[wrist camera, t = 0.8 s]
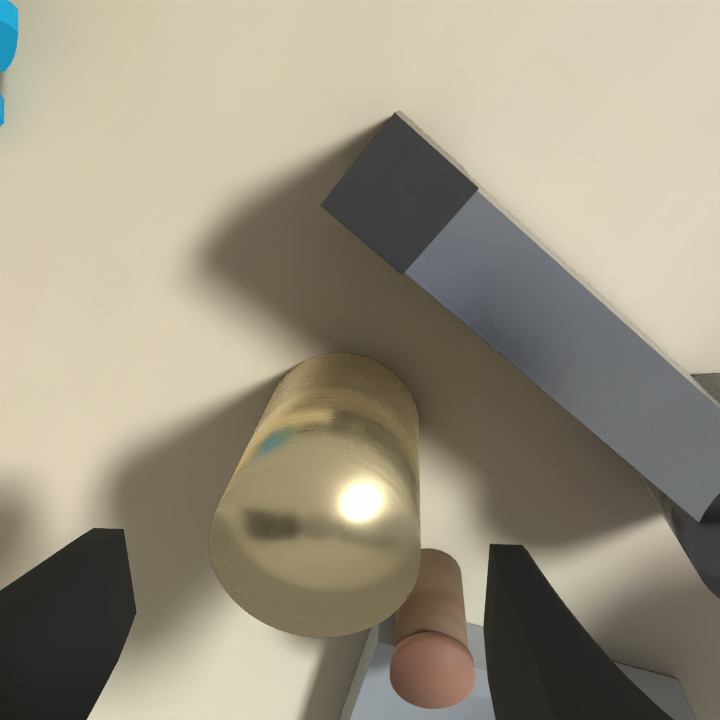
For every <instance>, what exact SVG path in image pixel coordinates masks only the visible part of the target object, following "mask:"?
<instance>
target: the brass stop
mask: <svg viewBox="0 0 720 720" xmlns="http://www.w3.org/2000/svg"><path fill="white" fill-rule="evenodd" d="M209 551H210V557H211V562H212V565H213V568H214V571H215V573H216V575H217V577H218V579H219V581H220V583H221V584H222V586H223V587H224V589H225V590H226V592H227V593H228V594H229V595H230V596H231V598H232V599H233V600H234V601H235V602H236V603H237V604H238V605H239V606H240V607H241V608H243V609H244V610H245V611H246V612H248V613H249V614H250V615H252V616H253V617H254V618H256V619H258V620H260V621H261V622H263V623H265V624H267V625H269V626H271V627H274V628H276V629H278V630H282V631H285V632H288V633H291V634H296V635H301V636H307V637H339V636H346V635H350V634H355V633H358V632H361V631H364V630H367V629H369V628H371V627H373V626H375V625H377V624H379V623H381V622H382V621H384V620H385V619H387V618H388V617H390V616H391V615H392V614H393V613H394V612H395V611H397V610H398V609H399V607H400V606H401V605H402V604H403V603H404V602H405V601H406V599H407V598H408V596H409V594H410V593H411V591H412V589H413V587H414V585H415V583H416V580H417V577H418V573H419V569H420V560H421V542H420V470H419V417H418V412H417V408H416V405H415V402H414V399H413V397H412V395H411V393H410V391H409V390H408V388H407V387H406V385H405V384H404V383H403V382H402V381H401V379H400V378H399V377H398V376H397V375H396V374H394V373H393V372H392V371H391V370H390V369H388V368H387V367H385V366H384V365H382V364H380V363H378V362H376V361H374V360H372V359H369V358H366V357H363V356H359V355H355V354H346V353H332V354H325V355H320V356H317V357H314V358H311V359H309V360H306V361H304V362H302V363H301V364H299V365H297V366H296V367H294V368H293V369H292V370H291V371H289V372H288V373H287V374H286V375H285V376H284V378H283V379H282V380H281V381H280V383H279V384H278V385H277V387H276V389H275V391H274V393H273V395H272V397H271V399H270V401H269V403H268V405H267V407H266V409H265V411H264V413H263V415H262V417H261V419H260V421H259V423H258V425H257V427H256V429H255V431H254V433H253V435H252V438H251V440H250V442H249V444H248V446H247V448H246V450H245V452H244V454H243V456H242V458H241V460H240V462H239V464H238V466H237V468H236V470H235V472H234V474H233V476H232V478H231V480H230V482H229V484H228V486H227V488H226V490H225V492H224V494H223V497H222V499H221V501H220V503H219V505H218V507H217V509H216V511H215V513H214V515H213V519H212V522H211V525H210V532H209Z"/></svg>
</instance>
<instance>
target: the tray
mask: <svg viewBox="0 0 720 720" xmlns="http://www.w3.org/2000/svg"><path fill="white" fill-rule="evenodd" d="M395 619H396V611H395V612H394V613H393V614H392V615H391V616H390V617H388V618H387V619H385V620H384V621H382V622H381V623H379V624H377V625H375V626H373V627H371V629H370V632H369V634H368V637H367V640H366V643H365V646H364V649H363V652H362V655H361V658H360V661H359V663H358V666H357V669H356V672H355V675H354V678H353V681H352V684H351V687H350V689H349V692H348V695H347V698H346V701H345V704H344V707H343V710H342V713H341V716H340V718H339V720H496V719H495V714H494V709H493V704H492V699H491V694H490V689H489V684H488V677H487V666H486V655H485V643H484V631H483V627H480V626H477V625H473V624H469V623H466V628H467V638H468V648H469V651H470V653H471V655H472V657H473V661H474V669H475V684H474V687H473V689H472V691H471V692H470V694H469V695H468V696H467V697H466V698H465V699H464V700H463V701H461V702H459V703H458V704H456V705H453V706H451V707H447V708H442V709H426V708H421V707H417V706H414V705H412V704H410V703H408V702H406V701H405V700H403V699H402V698H401V697H400V696H399V695H398V694H397V693H396V692H395V690H394V689H393V687H392V685H391V682H390V659H391V655H392V653H393V650H394V646H395ZM614 663H615V664H616V665H617V666H618V667H619V668H620V669H621V671H622V672H623V673H624V674H625V675H626V676H627V677H628V678H629V679H630V680H631V681H632V682H633V683H634V684H635V685H636V686H637V687H638V688H639V689H641V690H642V691H643V692H644V693H645V694H646V695H647V696H648V697H649V698H650V699H651V700H652V701H653V702H654V703H655V704H656V705H658V706H659V707H660V708H661V709H662V710H663V711H664V712H666V713H667V714H668V715H669V716H670V717H671V718H672V719H674V720H696V718H695V716H694V714H693V712H692V709H691V707H690V705H689V703H688V701H687V699H686V696H685V694H684V692H683V690H682V688H681V685H680V683H679V681H678V679H676V678H672V677H669V676H665V675H661V674H657V673H654V672H650V671H646V670H642V669H639V668H635V667H631V666H627V665H624V664H620V663H616V662H614Z"/></svg>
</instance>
